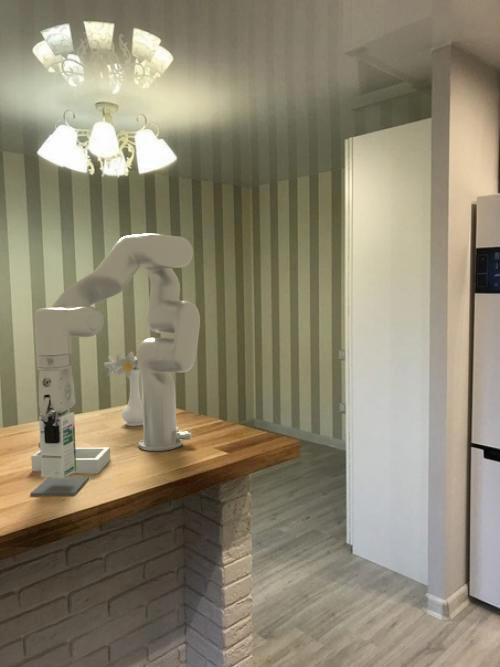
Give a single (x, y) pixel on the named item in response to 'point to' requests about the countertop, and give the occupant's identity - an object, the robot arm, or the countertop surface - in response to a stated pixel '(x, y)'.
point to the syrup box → (59, 448)
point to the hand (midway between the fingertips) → (58, 437)
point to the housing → (82, 459)
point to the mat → (60, 486)
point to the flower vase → (134, 406)
